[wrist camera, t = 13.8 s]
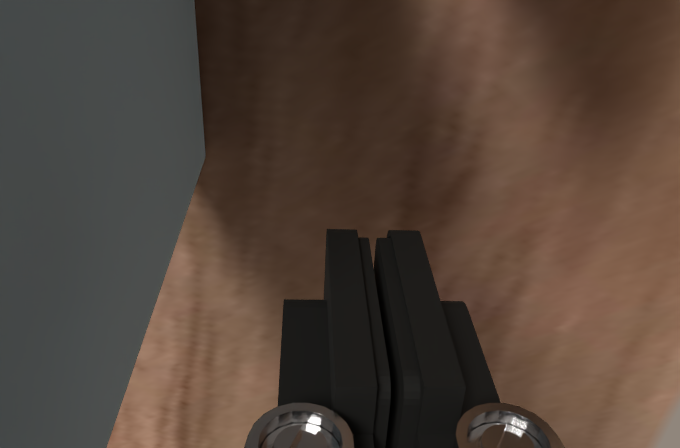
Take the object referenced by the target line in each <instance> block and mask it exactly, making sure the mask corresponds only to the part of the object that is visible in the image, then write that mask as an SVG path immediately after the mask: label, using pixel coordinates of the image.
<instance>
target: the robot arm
mask: <svg viewBox="0 0 680 448" xmlns="http://www.w3.org/2000/svg"><path fill="white" fill-rule="evenodd" d="M244 448H565V447H564V446H563V444H562V442H561V441H560V439H559V437H558V436H557V434H556V433H555V432H554V431H553V430H552V428H551V427H550V426H549V425H548V424H547V423H546V422H545V421H544V420H542V419H541V418H539V417H538V416H537V415H535V414H534V413H532V412H530V411H528V410H525V409H523V408H521V407H519V406H514V405H510V404H506V403H500V400H499V397H498V394H497V391H496V389H495V386H494V383H493V380H492V377H491V374H490V371H489V369H488V366H487V363H486V360H485V357H484V354H483V352H482V349H481V346H480V343H479V340H478V337H477V335H476V332H475V329H474V326H473V323H472V320H471V317H470V315H469V312H468V309H467V307H466V305H465V303H464V302H462V301H440V298H439V295H438V291H437V288H436V285H435V281H434V278H433V275H432V271H431V268H430V264H429V261H428V258H427V254H426V251H425V248H424V244H423V241H422V238H421V234H420V232H419V231H406V230H389V231H388V234H387V238H377V240H376V249H375V261H374V269H373V263H372V257H371V250H370V244H369V238H358V234H357V230H346V229H327V234H326V257H325V282H324V300H285V299H284V305H283V322H282V340H281V358H280V376H279V394H278V407H276V408H274V409H272V410H270V411H268V412H266V413H265V414H263V415H262V416H261V417H260V418H259V419H258V420H257V421H256V422H255V423H254V425H253V427H252V429H251V431H250V433H249V434H248V437H247V440H246V444H245V447H244Z"/></svg>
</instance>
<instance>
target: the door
mask: <svg viewBox="0 0 680 448" xmlns="http://www.w3.org/2000/svg"><path fill="white" fill-rule="evenodd" d="M205 157H206V155H205V141H204V127H203V113H202V99H201V85H200V72H199V58H198V44H197V30H196V16H195V2H194V0H0V448H106V447H107V444H108V441H109V438H110V435H111V432H112V430H113V427H114V424H115V421H116V418H117V415H118V412H119V409H120V406H121V403H122V400H123V397H124V394H125V391H126V389H127V386H128V383H129V380H130V377H131V374H132V371H133V368H134V365H135V362H136V359H137V356H138V353H139V350H140V348H141V345H142V342H143V339H144V336H145V333H146V330H147V327H148V324H149V321H150V318H151V315H152V312H153V309H154V307H155V304H156V301H157V298H158V295H159V292H160V289H161V286H162V283H163V280H164V277H165V274H166V271H167V268H168V266H169V263H170V260H171V257H172V254H173V251H174V248H175V245H176V242H177V239H178V236H179V233H180V230H181V227H182V225H183V222H184V219H185V216H186V213H187V210H188V207H189V204H190V201H191V198H192V195H193V192H194V189H195V186H196V184H197V181H198V178H199V175H200V172H201V169H202V166H203V163H204V160H205Z"/></svg>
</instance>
